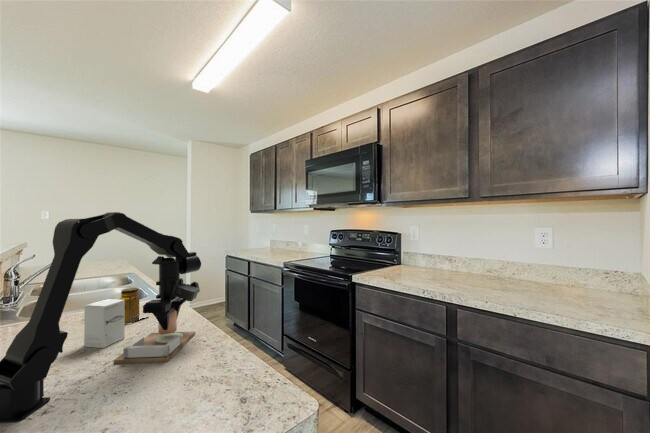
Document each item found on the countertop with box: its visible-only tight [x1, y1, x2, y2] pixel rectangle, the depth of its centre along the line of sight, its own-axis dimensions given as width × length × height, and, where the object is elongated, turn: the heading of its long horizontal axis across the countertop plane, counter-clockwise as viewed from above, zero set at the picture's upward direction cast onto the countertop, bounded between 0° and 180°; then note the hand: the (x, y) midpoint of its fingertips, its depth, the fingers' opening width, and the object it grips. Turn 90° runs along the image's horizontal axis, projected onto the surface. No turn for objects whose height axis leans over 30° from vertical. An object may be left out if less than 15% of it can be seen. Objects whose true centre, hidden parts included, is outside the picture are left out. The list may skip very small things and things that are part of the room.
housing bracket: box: [123, 336, 180, 358], centre depth 79 cm, size 7×11×2 cm, turn 93°
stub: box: [157, 310, 178, 335], centre depth 88 cm, size 5×5×6 cm
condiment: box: [119, 287, 140, 326], centre depth 108 cm, size 7×8×12 cm
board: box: [113, 330, 196, 365], centre depth 84 cm, size 18×14×1 cm
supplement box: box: [83, 298, 126, 349], centre depth 88 cm, size 7×7×13 cm
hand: (169, 326), depth 88 cm, fingers closed on stub, 5 cm apart
